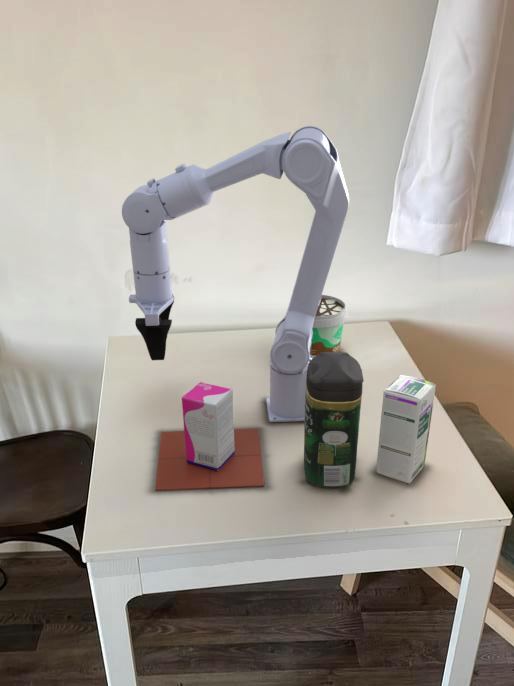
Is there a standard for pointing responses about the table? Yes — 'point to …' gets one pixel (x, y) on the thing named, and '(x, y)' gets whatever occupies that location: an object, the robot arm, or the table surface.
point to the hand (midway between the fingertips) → (159, 349)
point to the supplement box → (208, 425)
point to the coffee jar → (332, 419)
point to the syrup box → (405, 427)
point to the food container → (328, 325)
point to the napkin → (185, 476)
